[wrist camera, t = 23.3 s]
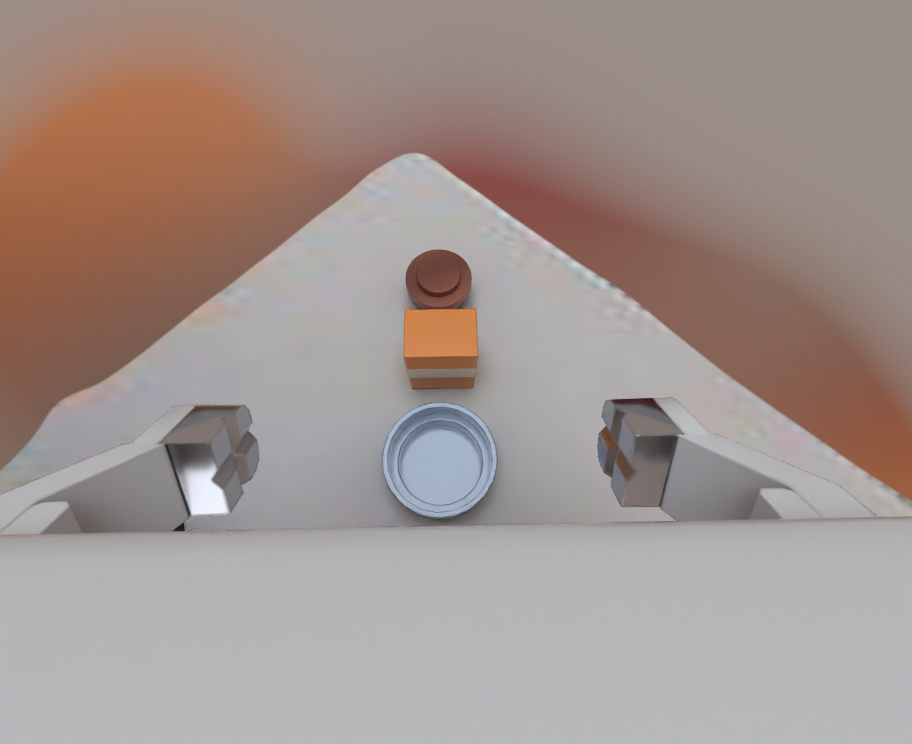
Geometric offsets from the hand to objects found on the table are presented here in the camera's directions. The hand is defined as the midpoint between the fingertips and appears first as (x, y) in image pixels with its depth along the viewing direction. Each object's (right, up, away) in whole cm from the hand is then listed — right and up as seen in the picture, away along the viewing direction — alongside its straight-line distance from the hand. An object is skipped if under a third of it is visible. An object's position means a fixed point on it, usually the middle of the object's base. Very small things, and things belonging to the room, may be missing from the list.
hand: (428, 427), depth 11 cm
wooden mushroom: (-1, +9, +34) cm, 35 cm away
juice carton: (-1, +2, +32) cm, 32 cm away
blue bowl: (-1, -7, +29) cm, 30 cm away
